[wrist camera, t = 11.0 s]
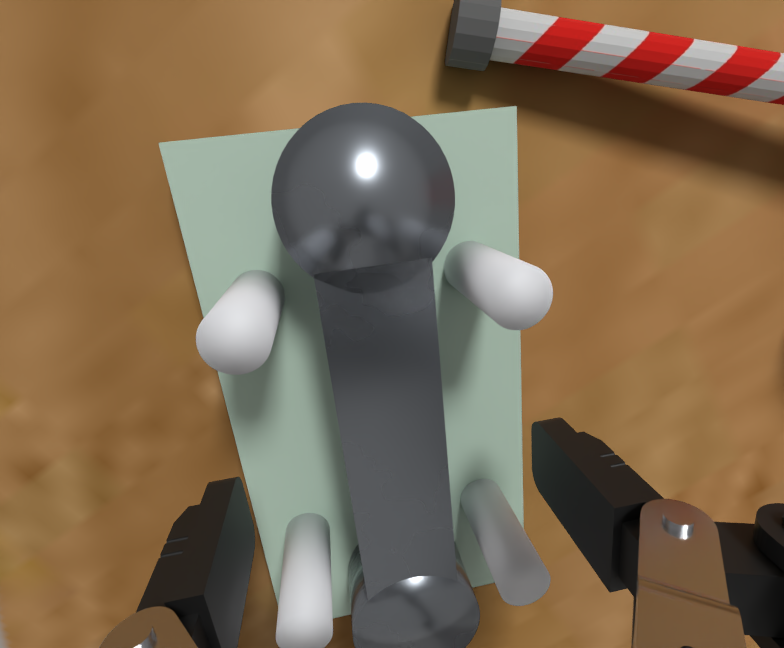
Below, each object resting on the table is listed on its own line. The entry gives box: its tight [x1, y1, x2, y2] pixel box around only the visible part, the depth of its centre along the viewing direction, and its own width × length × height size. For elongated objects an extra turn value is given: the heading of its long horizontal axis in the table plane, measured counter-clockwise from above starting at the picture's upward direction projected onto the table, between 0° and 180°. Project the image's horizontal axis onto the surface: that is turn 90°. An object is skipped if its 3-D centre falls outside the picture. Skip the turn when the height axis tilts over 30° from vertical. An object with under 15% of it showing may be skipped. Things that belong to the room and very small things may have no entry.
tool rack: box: [159, 106, 553, 648], centre depth 14 cm, size 18×10×6 cm, turn 6°
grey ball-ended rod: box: [271, 103, 480, 648], centre depth 14 cm, size 18×4×3 cm, turn 6°
